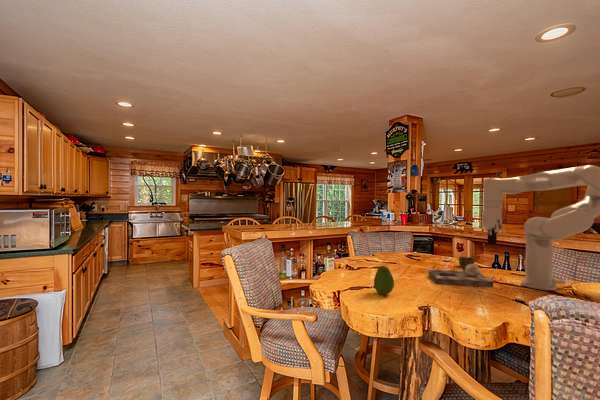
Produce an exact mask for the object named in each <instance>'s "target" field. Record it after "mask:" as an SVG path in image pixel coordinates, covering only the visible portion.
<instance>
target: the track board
mask: <svg viewBox="0 0 600 400" xmlns="http://www.w3.org/2000/svg"><path fill="white" fill-rule="evenodd" d="M428 277H429V278H430V279H431V280H432V281H433V282H434V283H435V285H452V286H466V287H467V286H469V287H488V288H493V287H494V279H493V278H488V277H487V276H484V275H483V274H481V271H480V273H479V275H478V276H476V277H471V276H469V275H468V274H467V273H466V271H463V270H461V269H460V270H456V269H454V270H453V269H436V268H435V269H434V268H429V269H428Z"/></svg>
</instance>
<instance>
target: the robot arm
mask: <svg viewBox="0 0 600 400" xmlns="http://www.w3.org/2000/svg"><path fill="white" fill-rule="evenodd" d="M580 186H588V187H587V188H586V190H585V194H584V198H582V200H580V201H577V202H576V203H574V204H570V205H567V206H564V207H562V208H559V209H557V210H555V211H554V212H552V213H551V215H550V217H544V216H533V217H530V218H528V219H527V220H526V221H525V222H524V226H523V231H524V236H525V277H524V279H523V280H521V281H520V283H521V285H522V286H525V287H527V288H529V289H530V288H531V289H535V290H541V291H556V290H557V289H558V286H557V285H565V284H566V281H565V279H558V278H555V277H553V273H554V271H553V269H554V267H553V263H554V261H553V259H554V258H553V257H554V247H553V246H554V245H553V241H559V240H560V241H561V240H563V239H565V238H569V237H572V236H574V235H577V234H579V233H583V232H585V231H587V230H589V229H590V228H591V227H592V226H593V224H594V221H595V218H598V217H599V216H600V166H596V165H592V164H587V165H579V166H575V167H574V166H573V167H568V168H567V167H566V168H561V169H552V170H547V171H541V172H536V173H531V174H527V175H521V176H515V177H507V178H500V177H499V178H497V177H495V178H494V177H492V178H489V177H488V178H485V179H484V180H483V192H482V193H483V197H482V198H483V200H482V201H483V202H482V204H483V205H482V207H483V209H482V216H481V217H482V218H481V227H482V228H484V229H485V230H486V234H487V244H489V245H497V243H498V241H497V237H498V234H499V233H500V230H501V229H502V228H503V214H502V213H503V211H502V210H503V204H504V203H503V199H504V198H503V197H504V195H517V194H520V193H522V192H523V193H524V192H533V191H534V192H538V191H539V192H541V191H544V192H545V191H551V190H559V189H565V188H572V187H573V188H574V187H580Z"/></svg>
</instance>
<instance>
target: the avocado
mask: <svg viewBox="0 0 600 400" xmlns="http://www.w3.org/2000/svg"><path fill="white" fill-rule="evenodd" d="M373 286H374V289H375V291H376V292H377V293H378V295H381V296H386V295H389V294H391V292H392V291H393V289H394V288H395V287H394V286H395V280H394V277H393V275H392V273H391V271H390V269H389V268H388V267H387V266H385V265H380V266H379V267H378V268H377V269H376V273H375V276H374V279H373Z"/></svg>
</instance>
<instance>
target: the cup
mask: <svg viewBox="0 0 600 400" xmlns="http://www.w3.org/2000/svg"><path fill="white" fill-rule="evenodd" d="M458 261H459V263H458V264H459V267H460V269H462V271H465V268H466V266H467V265H469V264H475V261H476V259H475V258H473V257H471V256H469V257H468V256H458Z"/></svg>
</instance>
